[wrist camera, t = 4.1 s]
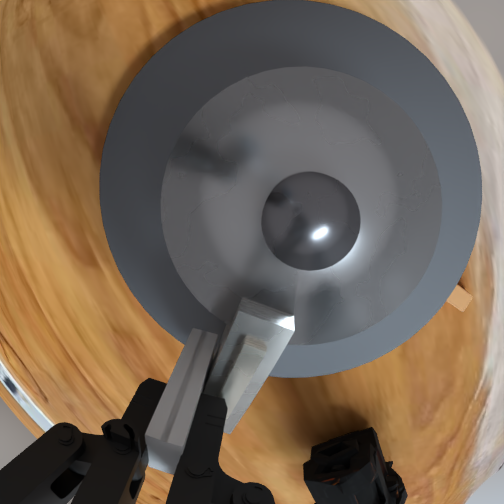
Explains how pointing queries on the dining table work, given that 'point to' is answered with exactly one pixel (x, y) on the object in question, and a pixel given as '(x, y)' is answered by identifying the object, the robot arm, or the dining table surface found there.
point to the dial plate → (250, 63)
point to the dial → (297, 216)
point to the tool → (352, 472)
